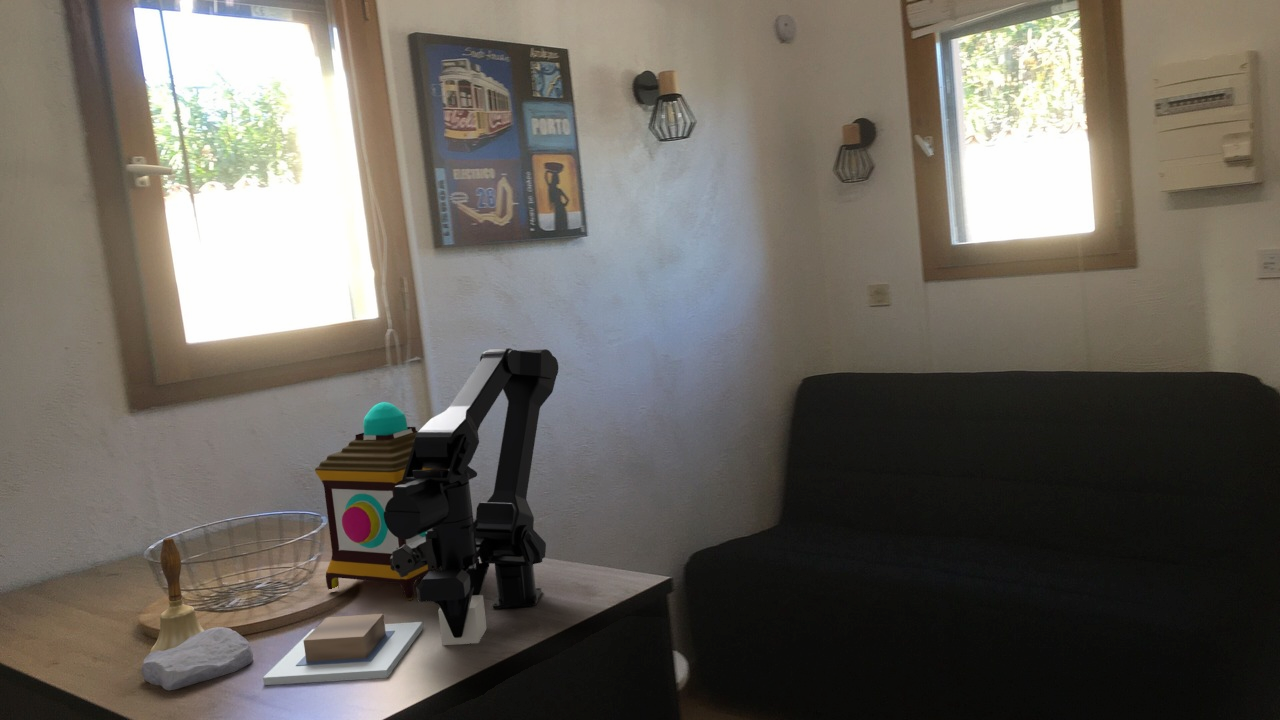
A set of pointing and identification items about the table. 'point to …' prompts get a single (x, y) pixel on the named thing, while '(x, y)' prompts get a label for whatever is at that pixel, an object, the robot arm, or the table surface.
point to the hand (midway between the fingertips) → (463, 628)
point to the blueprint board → (348, 668)
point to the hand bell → (174, 604)
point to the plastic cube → (466, 624)
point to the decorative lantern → (368, 500)
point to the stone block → (198, 659)
